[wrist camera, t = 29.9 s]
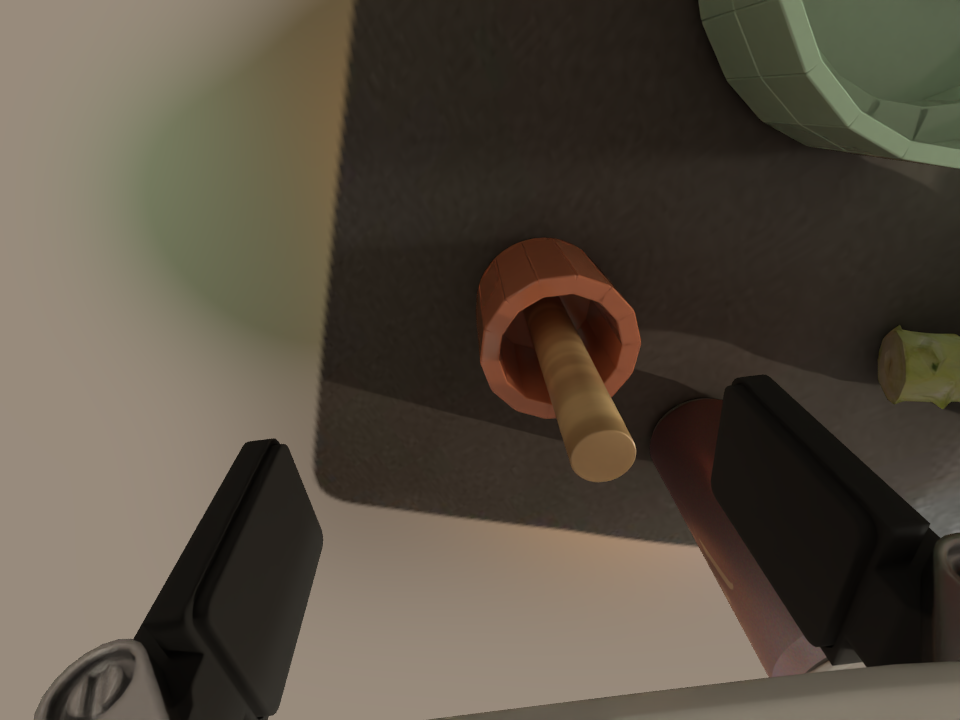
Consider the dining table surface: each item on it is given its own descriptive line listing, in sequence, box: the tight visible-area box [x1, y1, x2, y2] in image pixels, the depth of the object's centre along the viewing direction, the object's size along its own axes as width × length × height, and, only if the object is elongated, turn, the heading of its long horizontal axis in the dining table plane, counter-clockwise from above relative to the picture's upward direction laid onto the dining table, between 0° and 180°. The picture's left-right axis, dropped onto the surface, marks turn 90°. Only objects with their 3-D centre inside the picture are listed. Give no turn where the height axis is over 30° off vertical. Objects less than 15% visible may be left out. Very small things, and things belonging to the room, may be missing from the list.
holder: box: [476, 238, 641, 419], centre depth 23 cm, size 7×7×6 cm
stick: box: [523, 296, 636, 482], centre depth 20 cm, size 2×2×12 cm
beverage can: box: [650, 398, 866, 678], centre depth 24 cm, size 6×6×15 cm
